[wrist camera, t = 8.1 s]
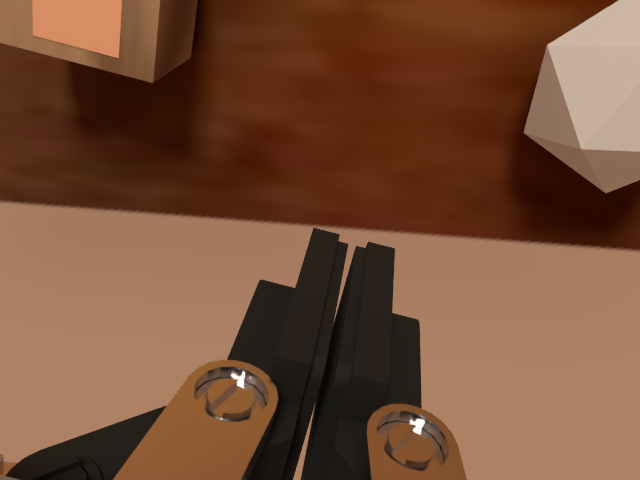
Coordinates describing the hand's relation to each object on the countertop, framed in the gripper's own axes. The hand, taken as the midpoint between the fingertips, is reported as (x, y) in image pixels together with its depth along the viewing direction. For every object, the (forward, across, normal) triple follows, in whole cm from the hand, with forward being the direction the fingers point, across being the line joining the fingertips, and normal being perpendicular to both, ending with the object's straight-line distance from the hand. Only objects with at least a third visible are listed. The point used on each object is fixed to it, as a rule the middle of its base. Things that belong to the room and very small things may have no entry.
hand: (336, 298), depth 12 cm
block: (+22, +11, 0) cm, 24 cm away
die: (+25, -12, -2) cm, 28 cm away
